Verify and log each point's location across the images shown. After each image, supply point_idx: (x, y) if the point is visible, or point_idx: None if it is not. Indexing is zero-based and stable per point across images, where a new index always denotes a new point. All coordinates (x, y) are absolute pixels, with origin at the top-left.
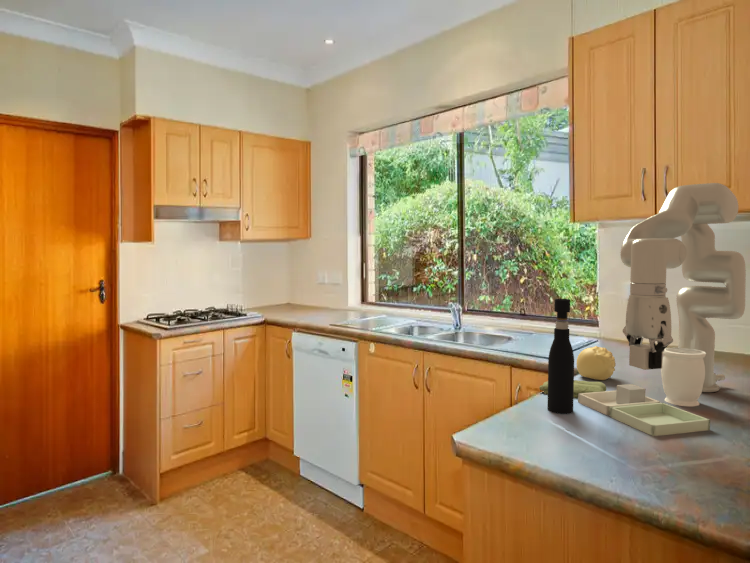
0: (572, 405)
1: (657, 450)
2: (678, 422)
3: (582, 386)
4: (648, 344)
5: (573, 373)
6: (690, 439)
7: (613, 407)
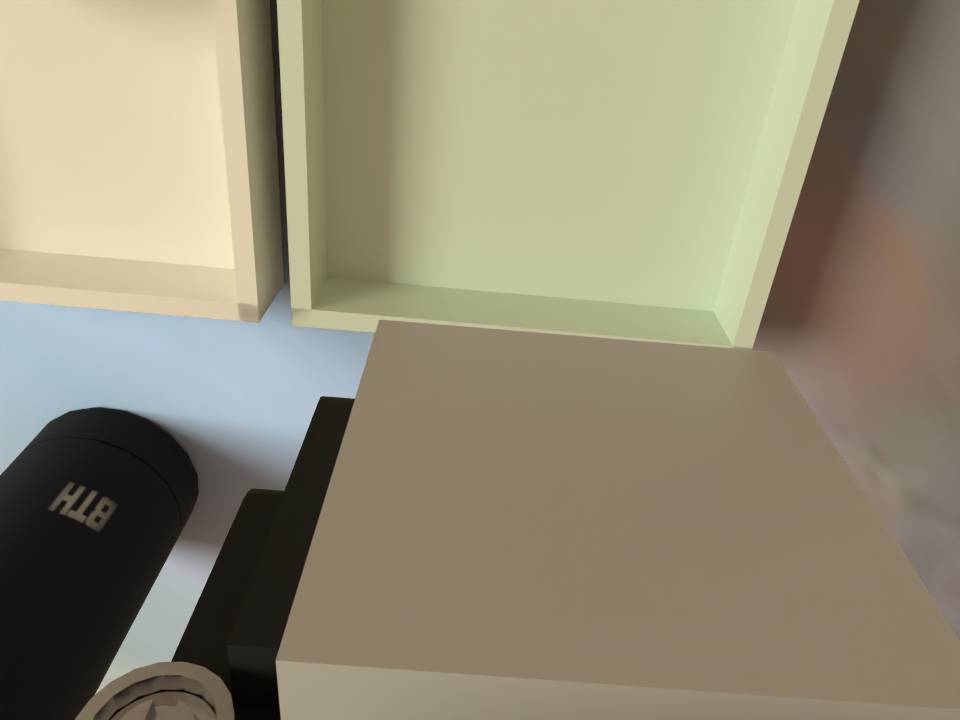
0: (152, 483)
1: (849, 433)
2: (807, 119)
3: None
4: (388, 687)
5: (13, 684)
6: (872, 84)
7: (299, 306)
